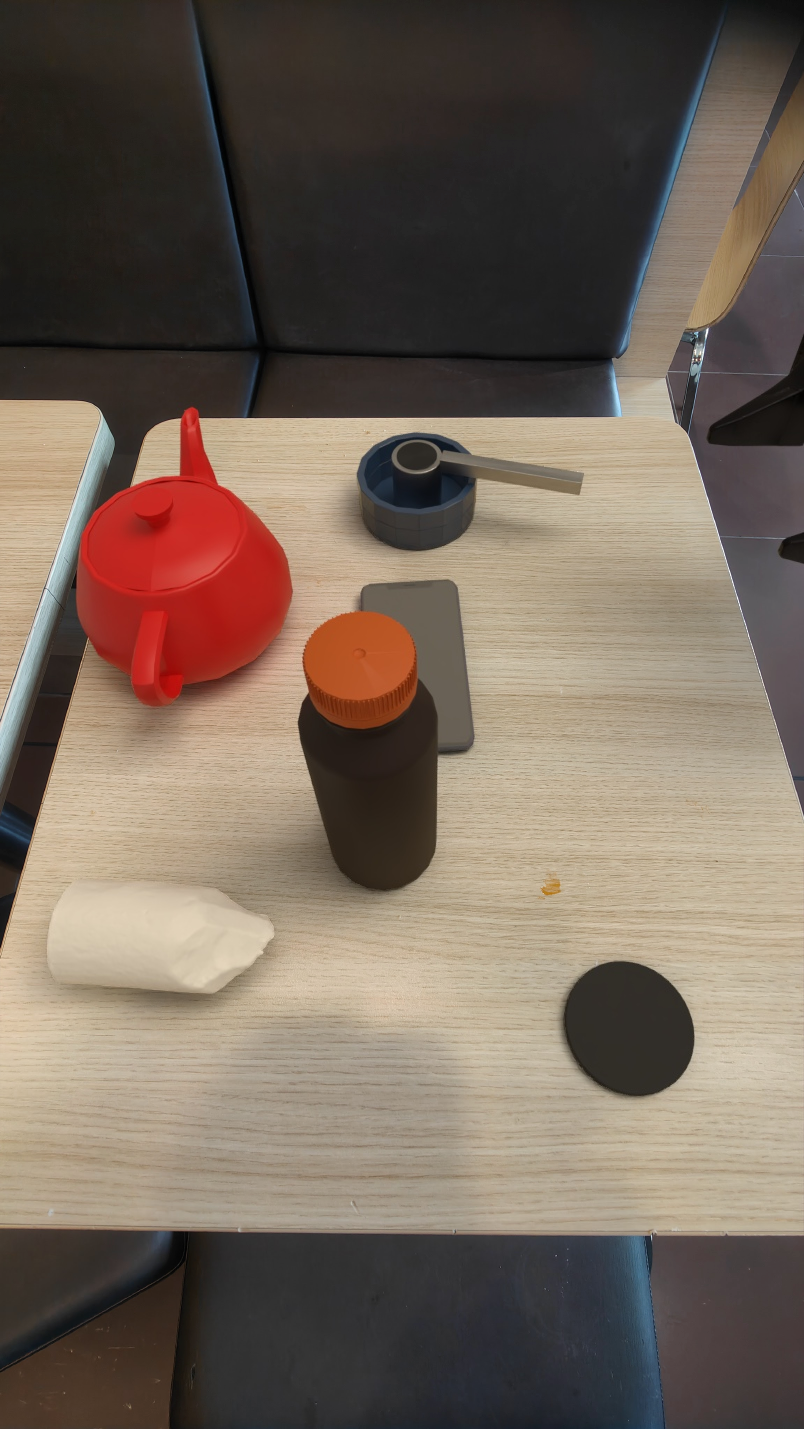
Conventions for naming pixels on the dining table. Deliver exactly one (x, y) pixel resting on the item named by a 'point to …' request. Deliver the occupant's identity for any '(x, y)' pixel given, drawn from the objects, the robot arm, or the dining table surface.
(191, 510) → the teapot
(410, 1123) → the dining table surface
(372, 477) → the bowl
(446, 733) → the smartphone
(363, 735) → the bottle
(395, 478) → the scoop
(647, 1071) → the coaster
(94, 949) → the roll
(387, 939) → the dining table surface
